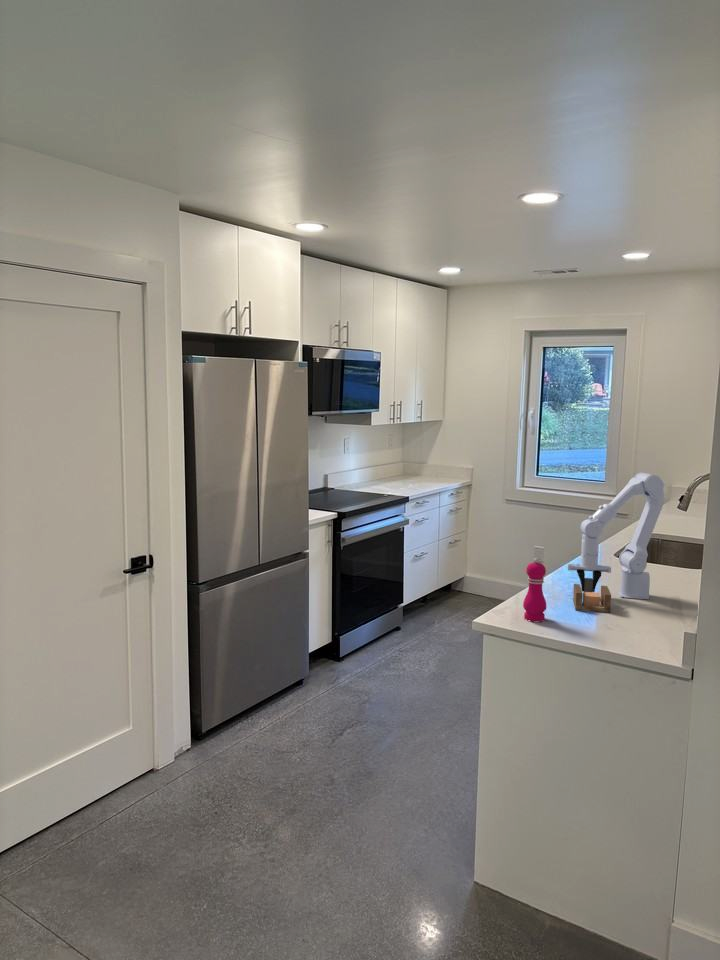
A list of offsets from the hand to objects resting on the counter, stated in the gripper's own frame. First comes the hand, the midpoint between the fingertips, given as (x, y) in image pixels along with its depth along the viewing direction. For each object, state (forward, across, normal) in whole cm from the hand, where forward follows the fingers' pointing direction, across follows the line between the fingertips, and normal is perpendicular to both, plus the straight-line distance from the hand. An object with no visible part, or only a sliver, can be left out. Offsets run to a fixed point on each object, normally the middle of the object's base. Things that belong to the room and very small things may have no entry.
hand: (588, 590), depth 242 cm
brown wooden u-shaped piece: (+2, 0, +12) cm, 12 cm away
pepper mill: (+2, +19, +30) cm, 36 cm away
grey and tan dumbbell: (+2, 0, +7) cm, 7 cm away
